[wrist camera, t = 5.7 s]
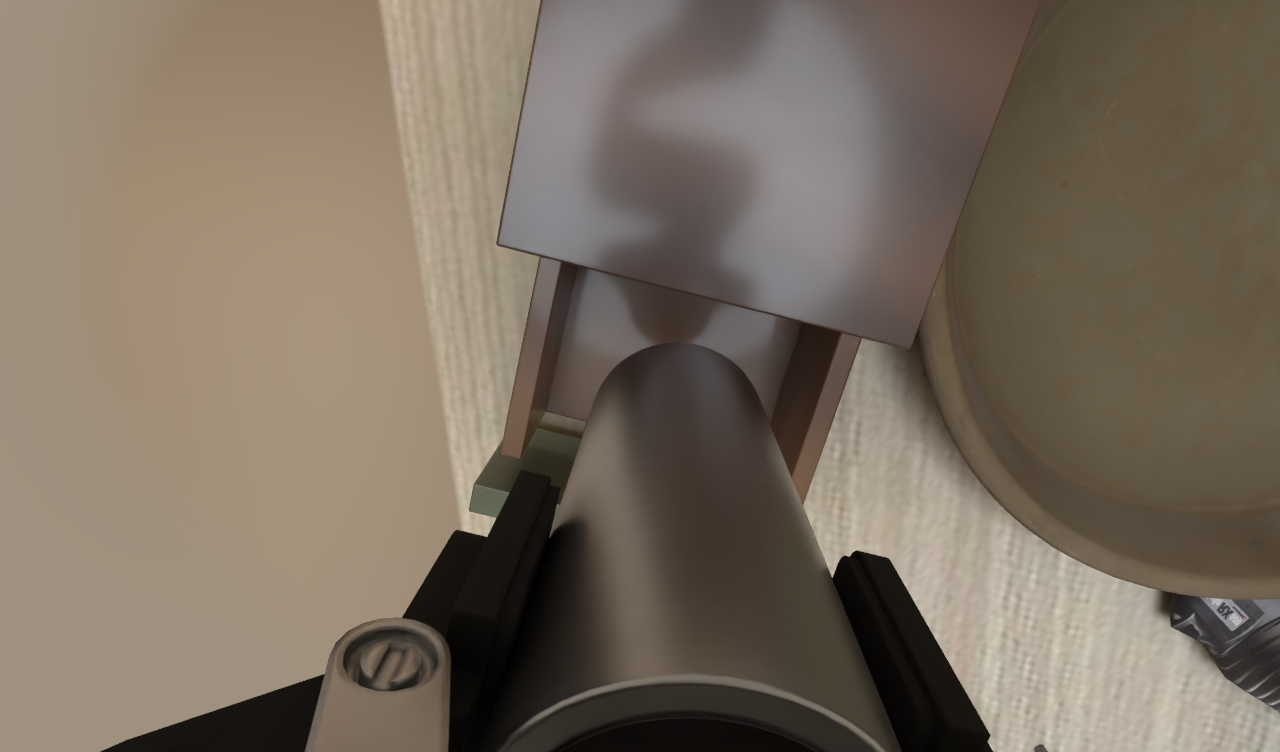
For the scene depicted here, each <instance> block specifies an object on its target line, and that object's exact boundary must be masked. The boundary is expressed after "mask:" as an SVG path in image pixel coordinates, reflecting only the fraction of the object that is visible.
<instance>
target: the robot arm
mask: <svg viewBox="0 0 1280 752" xmlns="http://www.w3.org/2000/svg"><path fill="white" fill-rule="evenodd" d="M550 482H551V477H550V476H546V475H542V474H537V473H533V472H529V471H525V470H521V471H520V473H519V475H518V477H517V479H516V481H515V483H514V485H513V487H512V489H511V491H510V493H509V495H508V497H507V499H506V501H505V503H504V505H503V507H502V509H501V511H500V513H499V515H498V517H497V519H496V521H495V523H494V525H493V527H492V529H491V531H490V533H489V535H488V537H485V536H480V535H476V534H472V533H468V532H464V531H459V530H456V531H454V533H453V534H452V535H451V537H450V539H449V540H448V542H447V544H446V545H445V547H444V549H443V550H442V552H441V554H440V555H439V557H438V559H437V560H436V562H435V564H434V565H433V567H432V569H431V571H430V572H429V574H428V575H427V577H426V579H425V580H424V582H423V584H422V586H421V587H420V589H419V590H418V592H417V594H416V595H415V597H414V599H413V600H412V602H411V604H410V605H409V607H408V609H407V610H406V612H405V614H404V615H403V617H402V618H384V619H377V620H373V621H370V622H366V623H363V624H361V625H359V626H357V627H355V628H353V629H351V630H349V631H348V632H346V633H345V634H344V635H343V636H342V637H341V638H340V639H339V640H338V641H337V642H336V644H335V646H334V648H333V650H332V652H331V654H330V656H329V660H328V664H327V668H326V672H325V674H324V675H320V676H317V677H315V678H312V679H308V680H305V681H303V682H299V683H296V684H294V685H291V686H288V687H284V688H281V689H278V690H275V691H272V692H269V693H266V694H264V695H260V696H257V697H254V698H251V699H249V700H246V701H242V702H240V703H236V704H233V705H231V706H228V707H224V708H221V709H218V710H216V711H213V712H210V713H207V714H203V715H200V716H197V717H194V718H191V719H189V720H186V721H183V722H180V723H177V724H174V725H171V726H168V727H165V728H162V729H159V730H156V731H153V732H150V733H147V734H144V735H141V736H138V737H135V738H132V739H129V740H126V741H124V742H122V743H119V744H117V745H115V746H112V747H110V748H108V749H105V750H103V751H101V752H479V750H480V747H481V744H482V741H483V738H484V735H485V732H486V728H487V725H488V722H489V719H490V716H491V713H492V710H493V707H494V704H495V702H496V699H497V696H498V693H499V690H500V687H501V684H502V681H503V678H504V675H505V672H506V669H507V666H508V663H509V660H510V657H511V654H512V650H513V647H514V644H515V641H516V638H517V635H518V632H519V629H520V626H521V623H522V620H523V617H524V614H525V611H526V608H527V605H528V602H529V599H530V596H531V593H532V589H533V586H534V583H535V580H536V577H537V574H538V571H539V568H540V565H541V562H542V559H543V556H544V553H545V550H546V547H547V544H548V541H549V537H550V533H551V529H552V524H553V520H554V516H555V511H556V507H557V503H558V498H559V494H560V489H561V487H557V486H553V485H550ZM832 579H833V582H834V584H835V587H836V589H837V592H838V594H839V597H840V599H841V602H842V604H843V606H844V609H845V611H846V614H847V616H848V619H849V621H850V624H851V626H852V629H853V631H854V634H855V636H856V639H857V641H858V644H859V646H860V649H861V651H862V653H863V656H864V658H865V661H866V663H867V666H868V668H869V671H870V673H871V676H872V678H873V681H874V683H875V686H876V688H877V691H878V693H879V696H880V698H881V700H882V703H883V705H884V708H885V710H886V713H887V715H888V718H889V720H890V723H891V725H892V728H893V730H894V733H895V735H896V738H897V740H898V742H899V745H900V747H901V750H902V752H993V751H992V749H991V747H990V745H989V744H988V742H987V741H988V739H989V737H990V734H989V732H988V730H987V729H986V727H985V725H984V723H983V722H982V720H981V718H980V716H979V715H978V713H977V711H976V709H975V708H974V706H973V704H972V702H971V701H970V699H969V697H968V695H967V694H966V692H965V690H964V688H963V687H962V685H961V683H960V681H959V680H958V678H957V676H956V674H955V673H954V671H953V669H952V667H951V666H950V664H949V662H948V660H947V659H946V657H945V655H944V653H943V652H942V650H941V648H940V646H939V645H938V643H937V641H936V639H935V638H934V636H933V634H932V632H931V631H930V629H929V627H928V625H927V624H926V622H925V620H924V618H923V617H922V615H921V613H920V611H919V610H918V608H917V606H916V605H915V603H914V601H913V599H912V598H911V596H910V594H909V592H908V591H907V589H906V587H905V585H904V584H903V582H902V580H901V578H900V577H899V575H898V573H897V571H896V570H895V568H894V566H893V564H892V563H891V561H890V560H889V559H888V558H886V557H881V556H877V555H873V554H869V553H865V552H861V551H855V552H853V553H852V555H851V556H850V557H848V556H843V557H842V558H841V559H840V561H839V563H838V565H837V568H836V570H835V573H834V576H833V578H832Z"/></svg>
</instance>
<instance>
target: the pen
mask: <svg viewBox="0 0 1280 752" xmlns="http://www.w3.org/2000/svg"><path fill="white" fill-rule="evenodd" d="M1035 751H1036V752H1047V750H1046V749H1045V747H1044V746H1042V745H1039V746H1037V747H1035Z"/></svg>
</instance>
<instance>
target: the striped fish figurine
mask: <svg viewBox="0 0 1280 752" xmlns="http://www.w3.org/2000/svg"><path fill="white" fill-rule="evenodd" d="M1170 621H1171V627H1173V628H1175V629H1176V630H1178V631H1180V632H1182V633H1184V634H1186V635H1188V636H1190V637H1192V638H1194V639H1196V640H1198V641H1200V642H1203V643H1204V644H1205V646H1206V648H1207V649H1208V651H1209V653H1210V654H1211V656H1212V658H1213V660H1214V661H1215V663H1216V665H1217V666H1218V668H1219V669H1220V671H1221V672H1222V673H1223V675H1224V676H1225V677H1226V678H1227V679H1228V680H1230V681H1231V682H1233V683H1234V684H1236V685H1237V686H1238V687H1240V688H1241V689H1243V690H1245V691H1246V692H1248V693H1250V694H1251V695H1253V696H1254V697H1256V698H1258V699H1259V700H1261V701H1262V702H1264V703H1266V704H1267V705H1269V706H1271V707H1272V708H1274V709H1275V710H1277V711H1279V712H1280V599H1264V600H1232V599H1218V598H1205V597H1197V596H1189V595H1181V594H1176V593H1173V596H1172V599H1171V605H1170Z"/></svg>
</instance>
